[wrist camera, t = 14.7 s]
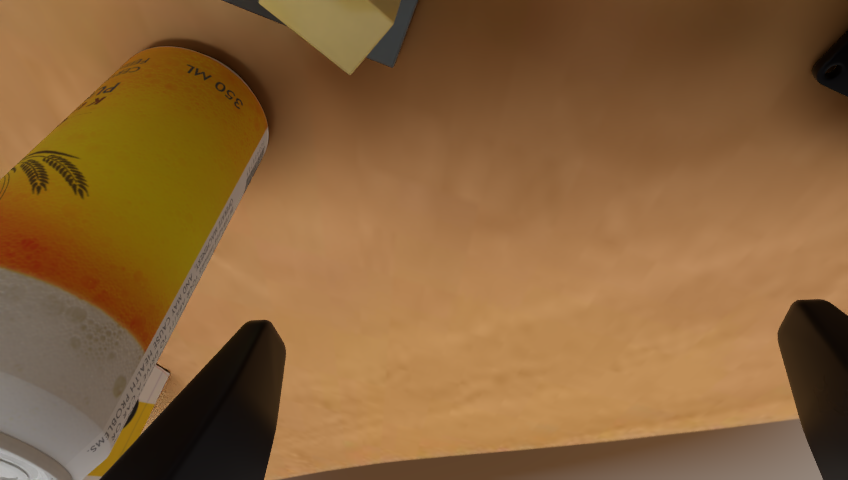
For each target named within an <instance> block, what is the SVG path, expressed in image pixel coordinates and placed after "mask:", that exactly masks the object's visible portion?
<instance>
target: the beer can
mask: <svg viewBox="0 0 848 480" xmlns="http://www.w3.org/2000/svg"><path fill="white" fill-rule="evenodd" d="M268 139H269V131H268V124H267V120H266V116H265V114H264V111H263V109H262V107H261V105H260V103H259V101H258V100H257V98H256V96H255V95H254V94H253V92H252V91H251V89H250V88H249V87H248V85H247V84H246V83H245V82H244V81H243V79H242V78H241V77H240V76H239V75H237V74H236V73H235V72H234V71H233V70H232V69H230V68H229V67H228V66H226V65H224V64H223V63H221V62H220V61H218V60H216V59H214V58H212V57H209V56H207V55H204V54H201V53H199V52H196V51H193V50H189V49H185V48H180V47H171V46H161V47H153V48H149V49H146V50H143V51H141V52H139V53H137V54H135V55H134V56H133V57H131V58H130V59H129V60H128V61H127V62H126V63H125V64H124V65H123V66H122V67H121V68H119V69H118V70H117V71H116V72H115V73H114V74H113V75H112V76H111V77H110V78H109V79H108V80H107V81H106V82H104V83H103V84H102V85H101V86H100V87H99V88H98V89H97V90H96V91H95V92H94V93H93V94H92V95H91V96H90V97H88V98H87V99H86V100H85V101H84V102H83V103H82V104H81V105H80V106H79V107H78V108H77V109H76V110H75V111H73V112H72V113H71V114H70V115H69V116H68V117H67V118H66V119H65V120H64V121H63V122H62V123H61V124H60V125H58V126H57V127H56V128H55V129H54V130H53V131H52V132H51V133H50V134H49V135H48V136H47V137H46V138H45V139H44V140H42V141H41V142H40V143H39V144H38V145H37V146H36V147H35V148H34V149H33V150H32V151H31V152H30V153H29V154H27V155H26V156H25V157H24V158H23V159H22V160H21V161H20V162H19V163H18V164H17V165H16V166H15V167H14V168H12V169H11V170H10V171H9V172H8V173H7V174H6V175H5V176H4V177H3V178H2V179H1V180H0V480H82V479H83V478H84V477H86V476H87V475H88V474H89V473H90V472H91V471H93V470H94V469H95V468H96V467H97V466H98V465H100V464H101V463H102V462H103V461H104V460H105V459H106V458H107V457H108V456H109V454H110V452H111V450H112V448H113V446H114V444H115V442H116V441H117V439H118V437H119V435H120V433H121V431H122V429H123V427H124V425H125V423H126V421H127V419H128V417H129V415H130V413H131V411H132V410H133V408H134V406H135V404H136V402H137V400H138V398H139V396H140V394H141V392H142V390H143V388H144V386H145V384H146V382H147V380H148V379H149V377H150V375H151V373H152V371H153V369H154V367H155V365H156V363H157V361H158V359H159V357H160V355H161V353H162V351H163V349H164V348H165V346H166V344H167V342H168V340H169V338H170V336H171V334H172V332H173V330H174V328H175V326H176V324H177V322H178V320H179V318H180V317H181V315H182V313H183V311H184V309H185V307H186V305H187V303H188V301H189V299H190V297H191V295H192V293H193V291H194V289H195V287H196V286H197V284H198V282H199V280H200V278H201V276H202V274H203V272H204V270H205V268H206V266H207V264H208V262H209V260H210V258H211V256H212V255H213V253H214V251H215V249H216V247H217V245H218V243H219V241H220V239H221V237H222V235H223V233H224V231H225V229H226V227H227V225H228V224H229V222H230V220H231V218H232V216H233V214H234V212H235V210H236V208H237V206H238V204H239V202H240V200H241V198H242V196H243V194H244V193H245V191H246V189H247V187H248V185H249V183H250V181H251V179H252V177H253V175H254V173H255V171H256V169H257V167H258V165H259V163H260V162H261V160H262V158H263V156H264V154H265V151H266V149H267V145H268Z"/></svg>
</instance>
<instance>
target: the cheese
mask: <svg viewBox="0 0 848 480" xmlns="http://www.w3.org/2000/svg"><path fill="white" fill-rule="evenodd" d="M222 1H225V2H228V3H230V4H233V5H235V6H238V7H240V8H243V9H245V10H248V11H250V12H253V13H255V14H258V15H260V16H263V17H265V18H268V19H270V20H273V21H275V22H278V23H280V24H283V25H285V26H288V27H289V28H290V29H292V30H293V31H294V32H295V33H297V34H298V35H299V36H300V37H302V38H303V39H304V40H305V41H307V42H308V43H309V44H311V45H312V46H313V47H314V48H316V49H317V50H318V51H319V52H321V53H322V54H323V55H324V56H326V57H327V58H328V59H329V60H331V61H332V62H333V63H335V64H336V65H337V66H338V67H340V68H341V69H342V70H343V71H345V72H346V73H347V74H348V75H351V74H352V73H353V72H354V71H355V70H356V69H357V67H358V66H359V65H360V64H361V63H362V61H363V60H364V59H365V58H368V59H371V60H373V61H376V62H378V63H381V64H383V65H386V66H388V67H391V68H393V67H394V66H395V63H396V60H397V58H398V55H399V52H400V50H401V47H402V44H403V41H404V39H405V36H406V33H407V30H408V28H409V25H410V22H411V19H412V17H413V14H414V11H415V9H416V6H417V3H418V0H222Z"/></svg>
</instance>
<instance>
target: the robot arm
mask: <svg viewBox="0 0 848 480" xmlns="http://www.w3.org/2000/svg"><path fill="white" fill-rule="evenodd" d="M835 65H837V66H836V67H835V69H834V70H832V71H831V72H829V73H826V71H827V70H828V69H829V68H830V67H832V66H835ZM812 75H813V77H814V78H815V79H816V80H817V81H818V82H819V83H820V84H822V85H824V86H826V87H828V88H830V89H832V90H834V91H837V92H839V93H841V94H843V95H845V96H847V97H848V31H847V32H846V33H845V34H844V35H843V36H842V37H841V38H840V39H839V40H838V41H837V42H836V43H835V44H834V45H833V46H832V47H831V48H830V49H829V50H828V51H827V52H826V53H825V54H824V55H823V56H822V57H821V58H820V59H819V60H818V61H817V62H816V64H815V65H814V66H813V69H812ZM778 343H779V347H780V351H781V354H782V358H783V361H784V365H785V368H786V372H787V376H788V379H789V383H790V386H791V390H792V393H793V397H794V400H795V404H796V408H797V411H798V415H799V418H800V421H801V424H802V428H803V431H804V433H805V436H806V439H807V441H808V444H809V446H810V449H811V451H812V453H813V456H814V458H815V461H816V463H817V466H818V468H819V470H820V473H821V475H822V478H823V480H848V316H847V315H846V314H845V313H843V312H842V311H841V310H839V309H838V308H837V307H835V306H834V305H833V304H831V303H830V302H828V301H825V300H821V299H813V300H797V301H795V302H794V303H793V304H792V305H791V307H790V309H789V311H788V313H787V314H786V316H785V318H784V320H783V322H782V324H781V326H780V328H779V331H778ZM285 358H286V349H285V345H284V343H283V341H282V339H281V338H280V336H279V334H278V333H277V331H276V329H275V328H274V326H273V324H272V323H271V322H270V321H268V320H254V321H249V322H247V323H245V324H244V325H243V326H242V327H241V328H240V329H239V330H238V331H237V333H236V334H235V335H234V336H233V337H232V338H231V339H230V340H229V341H228V342H227V343H226V344H225V345H224V346H223V348H222V349H221V350H220V351H219V352H218V353H217V354H216V355H215V356H214V357H213V358H212V359H211V360H210V361H209V363H208V364H207V365H206V366H205V367H204V368H203V369H202V370H201V371H200V372H199V373H198V374H197V375H196V376H195V378H194V379H193V380H192V381H191V382H190V383H189V384H188V385H187V386H186V387H185V388H184V389H183V390H182V391H181V392H180V394H179V395H178V396H177V397H176V398H175V399H174V400H173V401H172V402H171V403H170V404H169V405H168V406H167V407H166V409H165V410H164V411H163V412H162V413H161V414H160V415H159V416H158V417H157V418H156V419H155V420H154V421H153V422H152V424H151V425H150V426H149V427H148V428H147V429H146V430H145V431H144V432H143V433H142V434H141V435H140V436H139V437H138V439H137V440H136V441H135V442H134V443H133V444H132V445H131V446H130V447H129V448H128V449H127V450H126V451H125V452H124V454H123V455H122V456H121V457H120V458H119V459H118V460H117V461H116V462H115V463H114V464H113V465H112V466H111V467H110V469H109V470H108V471H107V472H106V473H105V474H104V475H103V476H102V477H101V478H100V479H99V480H264V477H265V473H266V469H267V465H268V461H269V457H270V452H271V448H272V444H273V440H274V435H275V431H276V425H277V418H278V411H279V403H280V396H281V388H282V381H283V373H284V365H285Z"/></svg>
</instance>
